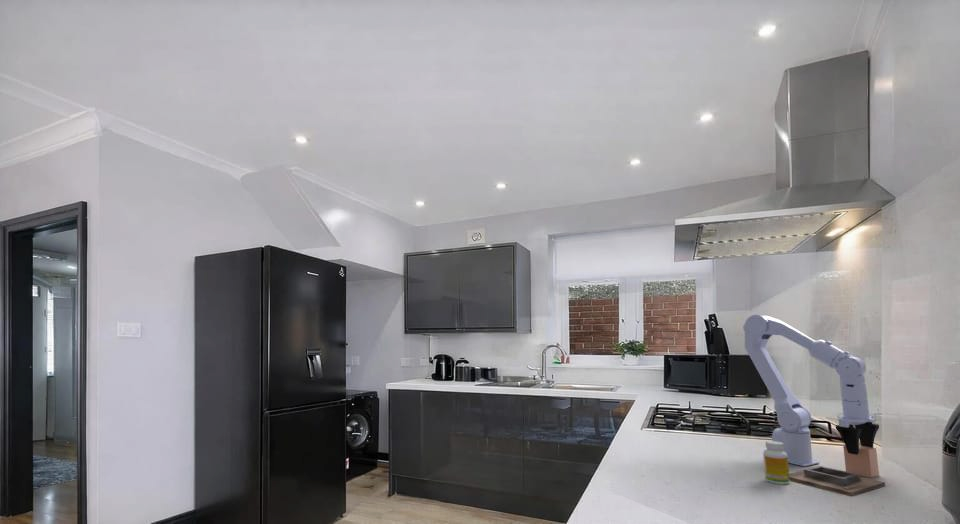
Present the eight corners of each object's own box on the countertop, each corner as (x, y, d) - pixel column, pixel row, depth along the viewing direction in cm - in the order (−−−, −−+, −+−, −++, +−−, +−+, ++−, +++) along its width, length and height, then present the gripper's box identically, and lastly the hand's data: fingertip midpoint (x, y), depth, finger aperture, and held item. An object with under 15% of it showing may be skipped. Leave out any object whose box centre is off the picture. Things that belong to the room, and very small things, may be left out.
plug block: (845, 472, 134) (843, 445, 135) (853, 470, 136) (850, 443, 137) (871, 477, 129) (868, 450, 130) (879, 475, 131) (876, 448, 132)
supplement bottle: (793, 485, 123) (790, 445, 124) (769, 484, 124) (766, 444, 125) (784, 479, 128) (781, 440, 129) (762, 478, 129) (759, 439, 130)
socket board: (782, 478, 129) (781, 468, 129) (816, 469, 136) (815, 460, 137) (852, 496, 115) (850, 485, 115) (885, 485, 122) (884, 475, 123)
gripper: (857, 404, 128) (863, 458, 126) (884, 400, 135) (890, 451, 133) (828, 401, 135) (833, 452, 133) (855, 397, 141) (860, 446, 140)
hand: (860, 452), depth 133 cm, fingers open, 7 cm apart
